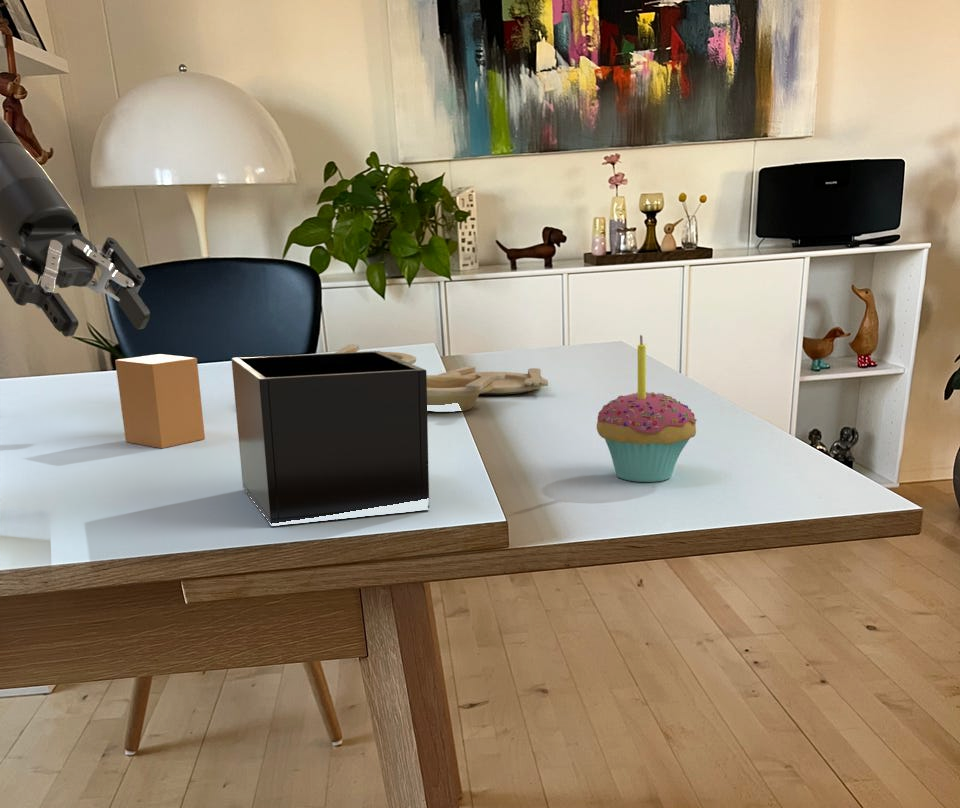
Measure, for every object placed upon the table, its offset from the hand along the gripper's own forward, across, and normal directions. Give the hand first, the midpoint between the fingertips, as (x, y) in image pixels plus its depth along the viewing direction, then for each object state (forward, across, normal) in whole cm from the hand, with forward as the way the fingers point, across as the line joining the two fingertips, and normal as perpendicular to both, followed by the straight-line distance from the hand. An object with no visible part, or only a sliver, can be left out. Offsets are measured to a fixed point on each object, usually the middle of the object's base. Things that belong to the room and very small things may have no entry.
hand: (109, 327), depth 104 cm
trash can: (+33, -8, -18) cm, 38 cm away
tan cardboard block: (+12, 0, +3) cm, 12 cm away
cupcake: (+45, +13, -30) cm, 56 cm away
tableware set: (+14, +36, +1) cm, 38 cm away
